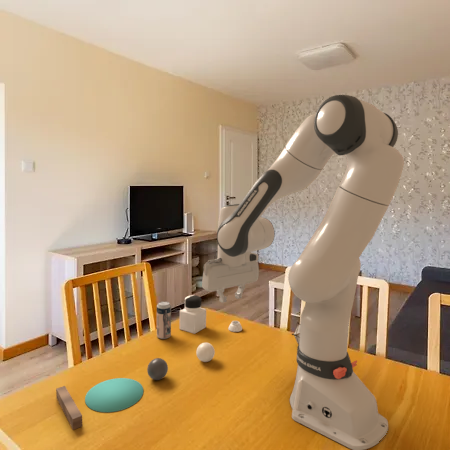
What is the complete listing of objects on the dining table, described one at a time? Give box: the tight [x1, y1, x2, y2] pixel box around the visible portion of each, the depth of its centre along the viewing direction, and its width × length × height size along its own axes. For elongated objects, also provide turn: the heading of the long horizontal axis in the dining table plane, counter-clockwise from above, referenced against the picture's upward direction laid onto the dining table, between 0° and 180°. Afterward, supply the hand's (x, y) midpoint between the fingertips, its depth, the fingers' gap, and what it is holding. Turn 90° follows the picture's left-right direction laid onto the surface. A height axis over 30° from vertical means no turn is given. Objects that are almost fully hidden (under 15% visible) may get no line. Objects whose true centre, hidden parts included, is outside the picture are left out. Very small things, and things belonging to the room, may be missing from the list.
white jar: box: [227, 320, 243, 333], centre depth 129 cm, size 5×3×5 cm
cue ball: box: [195, 342, 216, 363], centre depth 105 cm, size 6×6×6 cm
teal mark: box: [84, 377, 144, 413], centre depth 88 cm, size 14×14×1 cm
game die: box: [291, 321, 300, 346], centre depth 116 cm, size 9×8×10 cm
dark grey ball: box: [147, 357, 169, 381], centre depth 96 cm, size 6×6×6 cm
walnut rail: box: [55, 385, 83, 431], centre depth 81 cm, size 14×2×2 cm, turn 39°
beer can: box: [156, 301, 172, 340], centre depth 121 cm, size 5×5×12 cm
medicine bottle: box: [179, 294, 207, 335], centre depth 128 cm, size 7×7×12 cm
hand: (230, 299), depth 110 cm, fingers open, 5 cm apart
